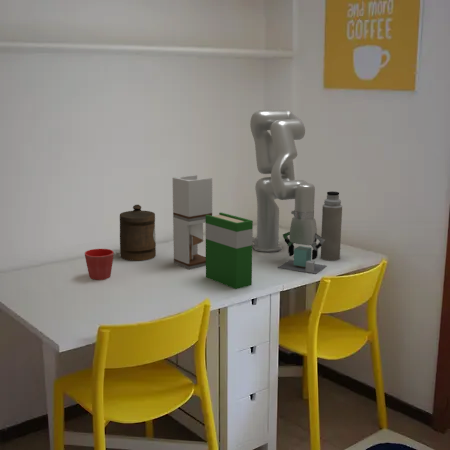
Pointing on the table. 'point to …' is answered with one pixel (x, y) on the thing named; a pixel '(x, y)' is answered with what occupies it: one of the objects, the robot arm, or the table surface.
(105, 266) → the flower pot
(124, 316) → the table surface
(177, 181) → the white coffee maker
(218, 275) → the hardback book
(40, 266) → the table surface
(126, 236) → the wooden container
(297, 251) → the teal rectangular block
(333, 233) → the thermos bottle
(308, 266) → the post stand
